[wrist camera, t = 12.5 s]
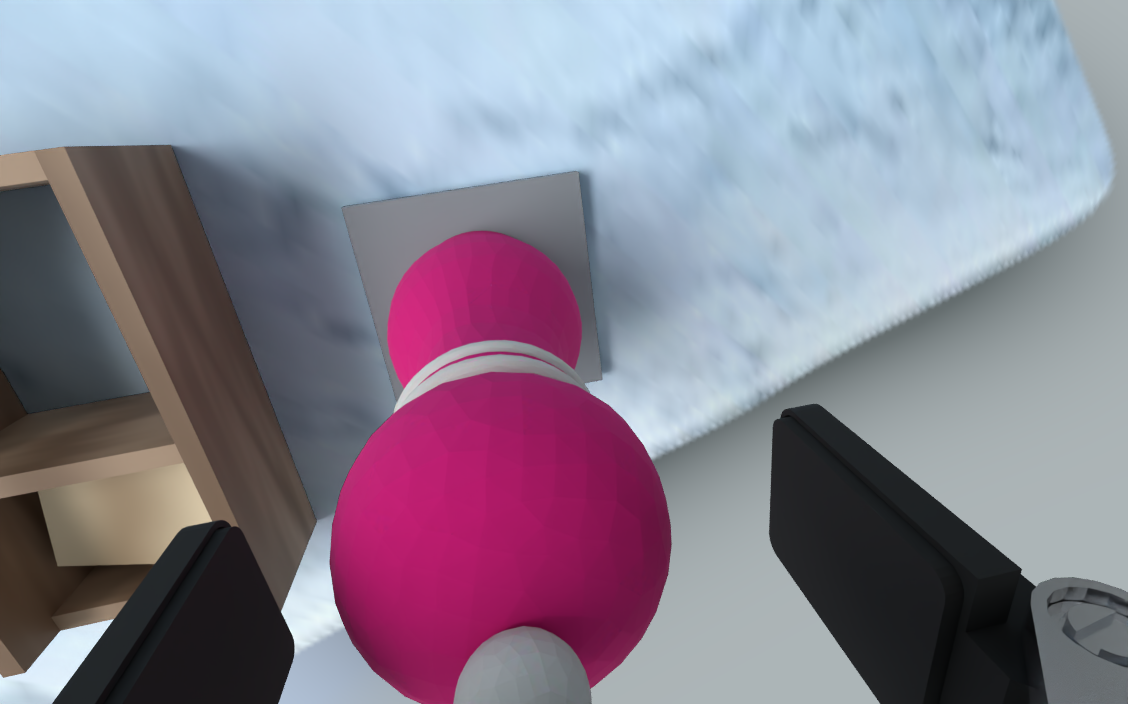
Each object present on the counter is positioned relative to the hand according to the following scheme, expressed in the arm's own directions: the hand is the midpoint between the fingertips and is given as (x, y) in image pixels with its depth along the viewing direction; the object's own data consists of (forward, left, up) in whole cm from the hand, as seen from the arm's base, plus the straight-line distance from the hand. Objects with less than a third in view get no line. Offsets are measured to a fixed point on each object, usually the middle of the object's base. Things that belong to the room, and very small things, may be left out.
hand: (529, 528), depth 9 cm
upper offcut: (+16, +6, -16) cm, 23 cm away
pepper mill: (0, 0, -16) cm, 16 cm away
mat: (0, 0, -17) cm, 17 cm away
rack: (+16, +1, -17) cm, 24 cm away
